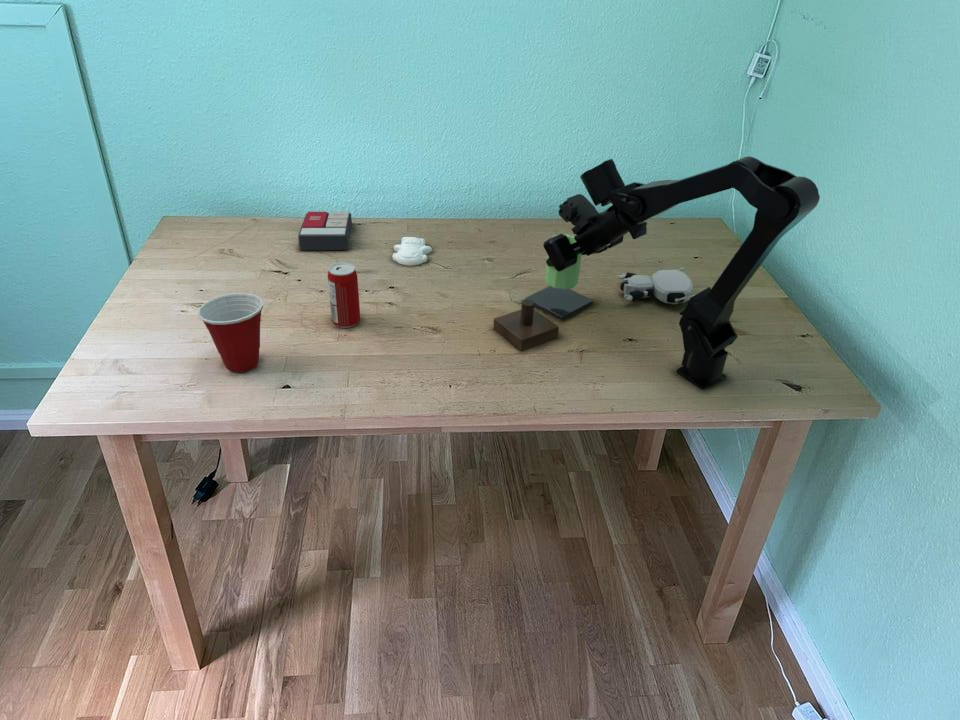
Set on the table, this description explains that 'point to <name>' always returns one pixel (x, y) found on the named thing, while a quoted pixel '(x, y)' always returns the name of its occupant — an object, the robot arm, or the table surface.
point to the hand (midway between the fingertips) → (558, 258)
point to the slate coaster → (560, 302)
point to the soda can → (344, 295)
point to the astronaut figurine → (411, 251)
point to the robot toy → (658, 286)
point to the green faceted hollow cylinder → (564, 272)
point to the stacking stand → (526, 327)
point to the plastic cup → (234, 328)
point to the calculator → (325, 231)
